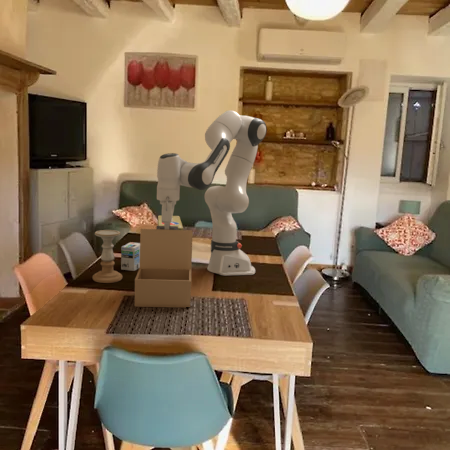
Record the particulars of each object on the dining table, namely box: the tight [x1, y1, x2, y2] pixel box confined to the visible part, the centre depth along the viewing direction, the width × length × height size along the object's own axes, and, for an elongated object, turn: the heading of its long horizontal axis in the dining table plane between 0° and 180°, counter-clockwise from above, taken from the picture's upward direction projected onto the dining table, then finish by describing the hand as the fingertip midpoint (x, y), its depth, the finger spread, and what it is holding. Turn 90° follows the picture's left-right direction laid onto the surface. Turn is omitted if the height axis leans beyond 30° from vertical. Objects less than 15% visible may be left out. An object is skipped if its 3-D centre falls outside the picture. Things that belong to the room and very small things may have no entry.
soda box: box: [157, 214, 184, 230], centre depth 267 cm, size 40×14×13 cm, turn 8°
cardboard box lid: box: [139, 225, 194, 270], centre depth 182 cm, size 20×16×6 cm
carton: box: [134, 268, 192, 308], centre depth 174 cm, size 20×15×10 cm
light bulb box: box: [120, 241, 140, 272], centre depth 213 cm, size 11×7×11 cm, turn 169°
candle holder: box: [92, 229, 123, 284], centre depth 194 cm, size 12×12×20 cm
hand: (167, 230), depth 183 cm, fingers open, 4 cm apart
